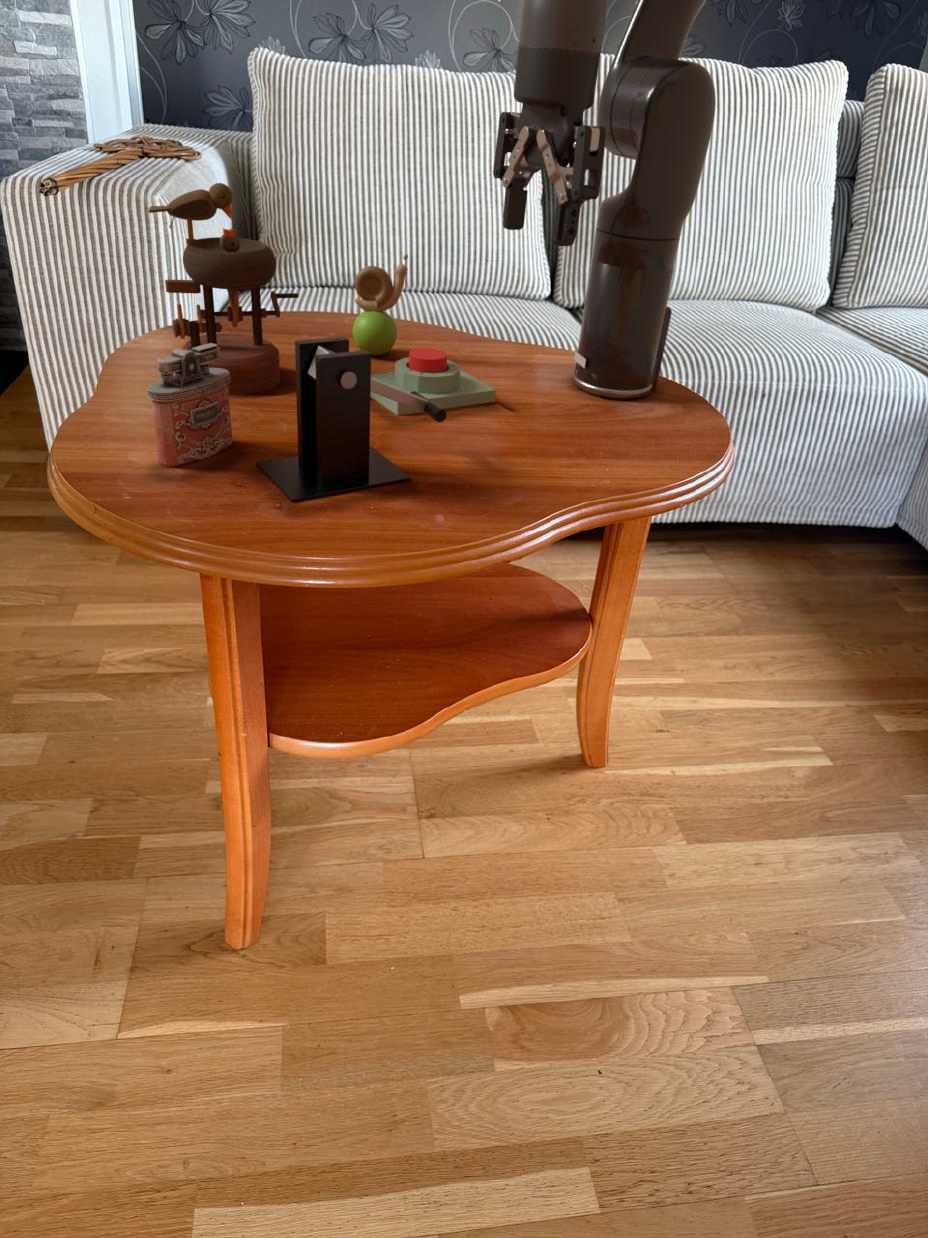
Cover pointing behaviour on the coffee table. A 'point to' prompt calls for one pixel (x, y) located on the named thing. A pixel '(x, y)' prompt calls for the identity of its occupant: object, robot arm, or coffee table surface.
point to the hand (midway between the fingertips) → (536, 236)
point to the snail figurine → (377, 308)
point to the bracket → (332, 427)
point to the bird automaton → (229, 269)
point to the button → (427, 360)
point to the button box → (434, 387)
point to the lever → (394, 393)
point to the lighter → (191, 407)
